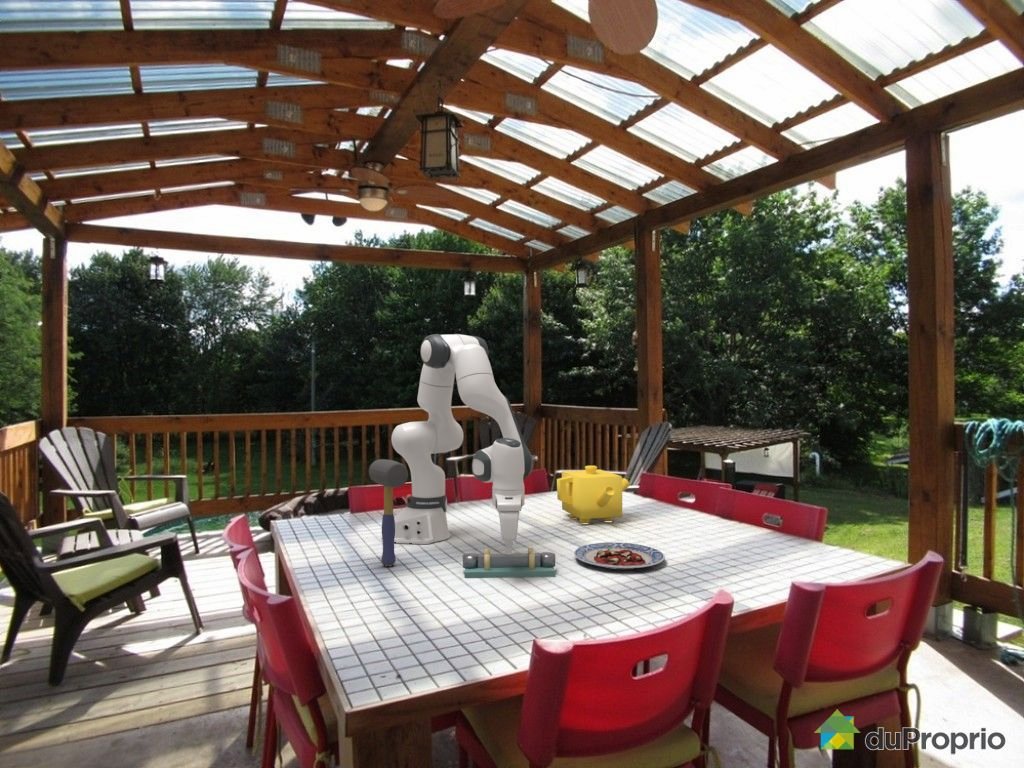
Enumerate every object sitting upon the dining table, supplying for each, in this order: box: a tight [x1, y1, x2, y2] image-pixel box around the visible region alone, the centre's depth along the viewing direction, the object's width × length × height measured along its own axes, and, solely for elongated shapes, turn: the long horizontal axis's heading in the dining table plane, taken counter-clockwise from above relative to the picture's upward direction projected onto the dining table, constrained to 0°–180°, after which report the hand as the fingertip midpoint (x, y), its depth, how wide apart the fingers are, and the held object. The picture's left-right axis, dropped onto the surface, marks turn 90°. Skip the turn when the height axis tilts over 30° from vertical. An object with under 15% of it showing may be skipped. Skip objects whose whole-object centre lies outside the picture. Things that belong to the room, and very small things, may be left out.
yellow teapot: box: [556, 465, 631, 524], centre depth 233 cm, size 35×29×20 cm
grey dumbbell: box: [462, 551, 556, 570], centre depth 168 cm, size 25×4×3 cm, turn 92°
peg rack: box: [463, 547, 556, 579], centre depth 168 cm, size 24×10×6 cm, turn 92°
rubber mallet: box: [368, 458, 409, 567], centre depth 174 cm, size 12×8×30 cm, turn 37°
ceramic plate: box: [573, 541, 666, 570], centre depth 178 cm, size 26×26×3 cm
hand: (508, 548), depth 168 cm, fingers open, 8 cm apart
